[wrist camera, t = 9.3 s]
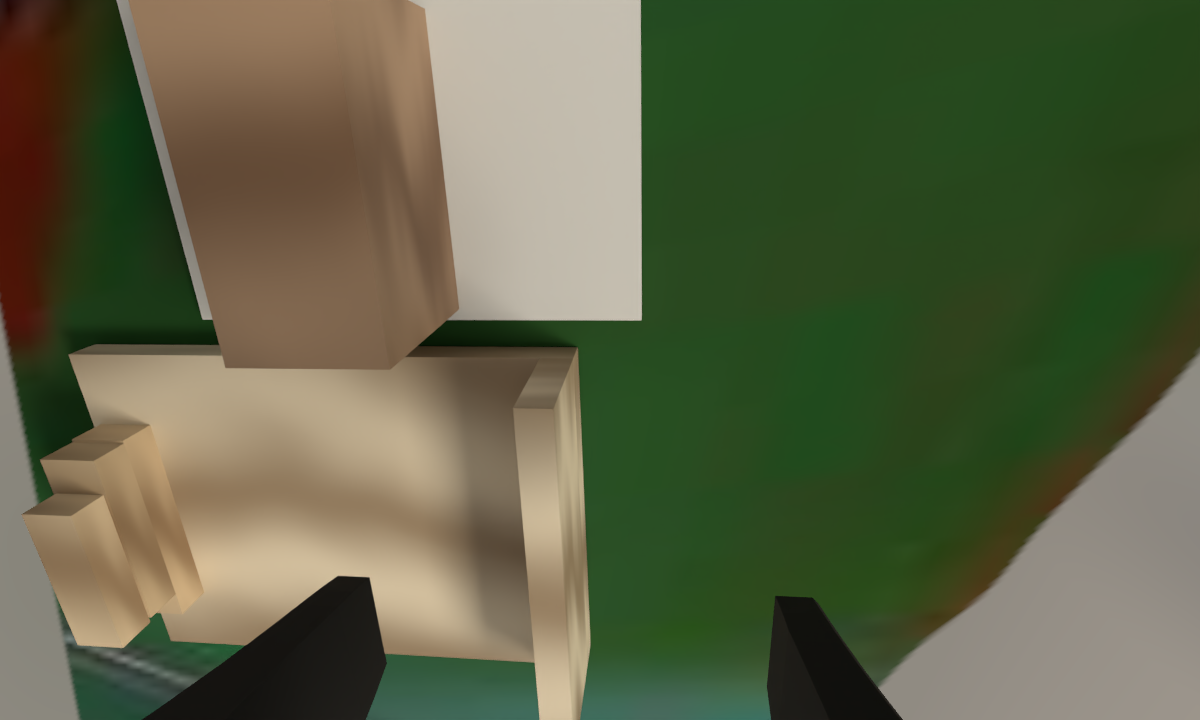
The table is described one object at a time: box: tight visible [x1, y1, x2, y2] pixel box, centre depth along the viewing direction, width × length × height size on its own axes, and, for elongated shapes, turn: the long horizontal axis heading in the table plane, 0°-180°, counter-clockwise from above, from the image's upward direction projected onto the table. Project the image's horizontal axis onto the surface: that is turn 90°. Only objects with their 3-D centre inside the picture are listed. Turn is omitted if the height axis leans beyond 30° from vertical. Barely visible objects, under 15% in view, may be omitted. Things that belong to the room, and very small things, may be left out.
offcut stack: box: [22, 424, 204, 648], centre depth 20 cm, size 7×2×3 cm, turn 2°
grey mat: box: [116, 0, 642, 320], centre depth 17 cm, size 10×14×1 cm
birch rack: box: [68, 344, 590, 720], centre depth 20 cm, size 12×16×4 cm
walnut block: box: [128, 0, 459, 370], centre depth 15 cm, size 8×4×5 cm, turn 2°
